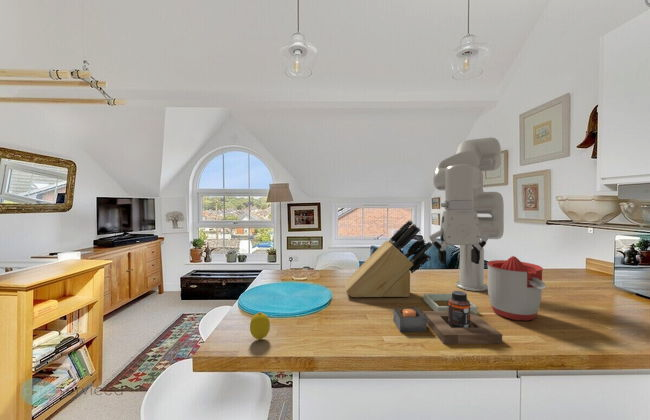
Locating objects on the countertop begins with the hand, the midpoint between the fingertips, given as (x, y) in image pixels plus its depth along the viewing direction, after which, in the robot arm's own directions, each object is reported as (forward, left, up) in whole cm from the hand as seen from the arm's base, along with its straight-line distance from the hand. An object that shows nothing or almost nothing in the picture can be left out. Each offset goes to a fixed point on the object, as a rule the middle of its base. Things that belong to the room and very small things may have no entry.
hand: (458, 263), depth 82 cm
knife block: (-32, -15, -20) cm, 41 cm away
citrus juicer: (-10, +24, -20) cm, 33 cm away
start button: (-3, -14, -20) cm, 24 cm away
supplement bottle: (0, 0, -20) cm, 21 cm away
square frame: (0, 0, -20) cm, 20 cm away
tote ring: (-18, +5, -20) cm, 27 cm away
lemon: (+5, -59, -20) cm, 63 cm away
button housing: (-3, -14, -20) cm, 25 cm away
